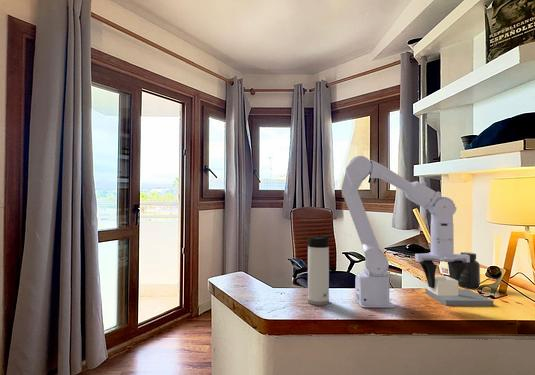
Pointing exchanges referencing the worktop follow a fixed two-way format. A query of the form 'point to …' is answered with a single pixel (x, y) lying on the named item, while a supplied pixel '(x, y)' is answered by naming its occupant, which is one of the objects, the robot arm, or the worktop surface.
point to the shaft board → (462, 298)
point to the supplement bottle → (470, 273)
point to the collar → (445, 286)
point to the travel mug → (318, 270)
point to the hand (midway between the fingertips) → (442, 287)
